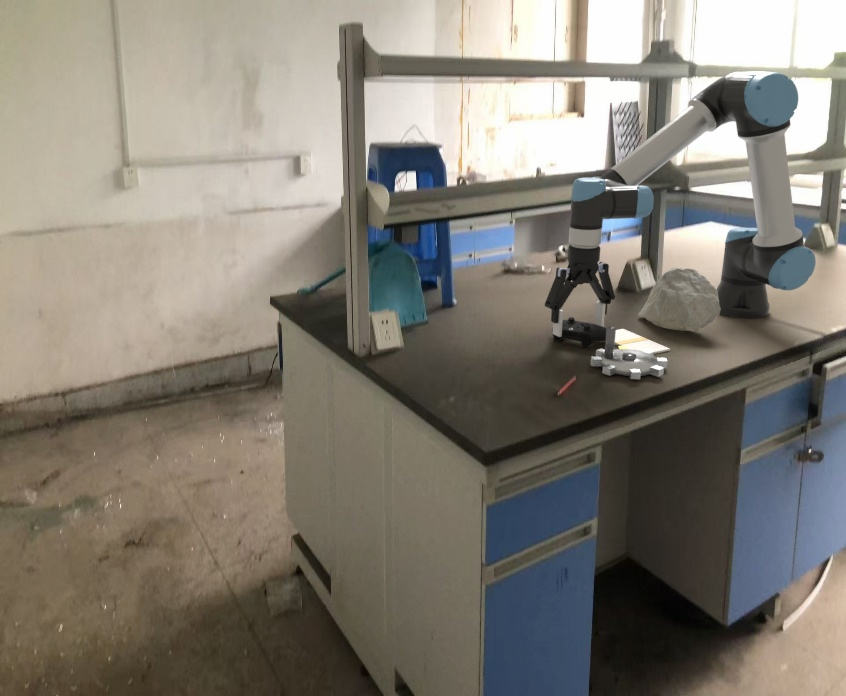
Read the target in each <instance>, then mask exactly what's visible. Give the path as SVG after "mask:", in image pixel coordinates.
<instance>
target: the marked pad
mask: <svg viewBox="0 0 846 696" xmlns="http://www.w3.org/2000/svg"><path fill="white" fill-rule="evenodd" d="M614 346H617V347H618V346H627V347H628V349H632V350H639V351H643V350H646V349H647V350H650V351H654V355H655V354H660V353H665V352H671V348H670V347H667V346H666V345H665V346H664V345H662V344H660V343H657V342H656V341H654V340H653V341H652V340H650V339H648V338H647V337H643V336H641V335H639V334H637V333H634V332H633V331H629V330H628V329H625V328H620V329H616V333H615V344H614Z"/></svg>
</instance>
